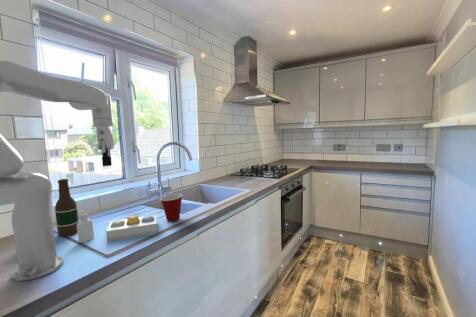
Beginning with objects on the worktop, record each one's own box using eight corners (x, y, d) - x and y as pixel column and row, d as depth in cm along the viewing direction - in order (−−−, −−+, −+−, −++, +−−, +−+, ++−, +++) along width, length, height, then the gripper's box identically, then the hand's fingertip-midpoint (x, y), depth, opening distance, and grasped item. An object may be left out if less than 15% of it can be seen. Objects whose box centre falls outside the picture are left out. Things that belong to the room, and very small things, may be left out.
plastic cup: (168, 215, 124) (167, 192, 122) (187, 216, 121) (186, 193, 120) (156, 223, 113) (154, 198, 112) (177, 224, 111) (175, 199, 109)
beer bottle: (71, 236, 101) (65, 181, 99) (53, 237, 101) (46, 181, 99) (83, 229, 109) (77, 177, 106) (66, 229, 109) (60, 178, 106)
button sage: (123, 231, 100) (122, 223, 100) (111, 232, 99) (111, 224, 99) (124, 227, 105) (123, 219, 104) (113, 228, 103) (112, 221, 103)
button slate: (153, 226, 104) (153, 218, 104) (142, 228, 103) (142, 220, 103) (153, 222, 109) (153, 215, 108) (143, 224, 107) (142, 216, 107)
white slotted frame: (157, 233, 102) (156, 223, 101) (107, 242, 95) (106, 231, 95) (156, 223, 113) (156, 214, 112) (111, 230, 106) (110, 220, 106)
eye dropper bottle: (77, 240, 98) (74, 211, 96) (93, 235, 101) (90, 208, 100) (79, 243, 95) (75, 214, 93) (95, 239, 98) (92, 211, 97)
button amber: (138, 225, 102) (138, 217, 102) (127, 227, 101) (126, 219, 100) (139, 222, 106) (138, 214, 106) (128, 223, 105) (127, 216, 105)
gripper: (110, 122, 96) (114, 167, 98) (115, 123, 110) (118, 163, 112) (88, 122, 94) (93, 168, 96) (96, 124, 108) (100, 164, 110)
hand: (107, 165), depth 104 cm, fingers closed
